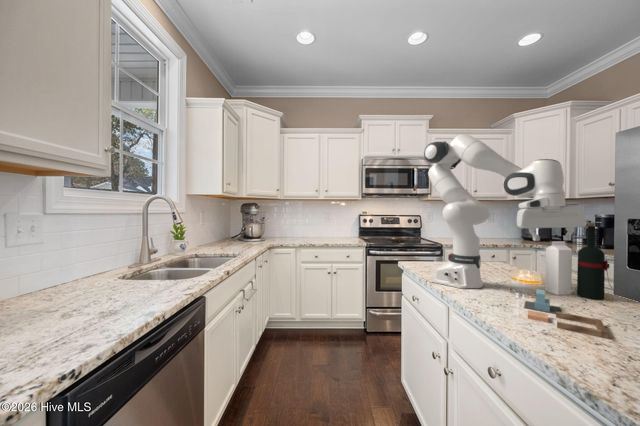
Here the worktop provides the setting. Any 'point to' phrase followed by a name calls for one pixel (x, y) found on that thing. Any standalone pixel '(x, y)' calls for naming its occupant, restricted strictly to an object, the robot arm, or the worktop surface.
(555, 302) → the worktop surface
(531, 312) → the tile
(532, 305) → the mat
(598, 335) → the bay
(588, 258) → the wine bottle
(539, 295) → the pusher
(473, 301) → the worktop surface
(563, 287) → the milk
